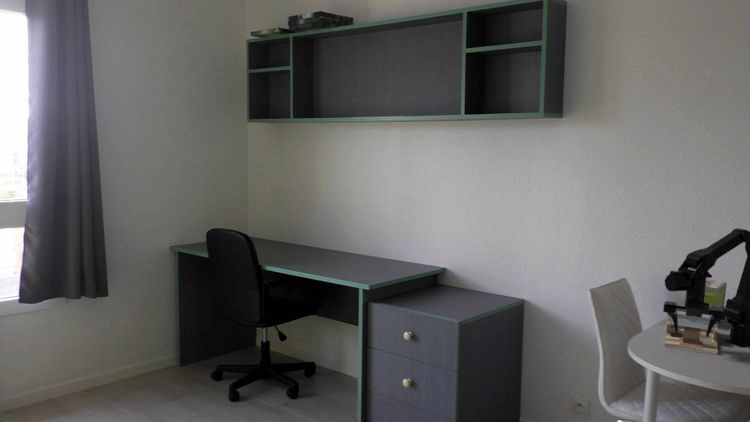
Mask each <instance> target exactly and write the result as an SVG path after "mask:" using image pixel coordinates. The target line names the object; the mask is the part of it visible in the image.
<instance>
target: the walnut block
mask: <svg viewBox="0 0 750 422" xmlns="http://www.w3.org/2000/svg"><path fill="white" fill-rule="evenodd" d="M683 326H684V325H683ZM701 329H702V328H699V327H695V326H693V327H692V326H687V325H685V326H684V334H682V335H683V337H682V338H683V343H688V344H694V345H699V342H700V341H701V340H700V338H701V337H700V330H701Z"/></svg>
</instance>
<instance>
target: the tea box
mask: <svg viewBox="0 0 750 422" xmlns="http://www.w3.org/2000/svg"><path fill="white" fill-rule="evenodd" d="M726 293H727V282H726V281H719V280H714V279H709V278H706V288H705V299H704V303H710V304H712V305H714V306H715V307H717V308H725V304H726V302H725V301H726V295H727V294H726ZM690 321H692V322H695V323H702V324H707V325H708V324H709V322H702V321H694V320H690ZM718 323H719V322H717V324H718Z"/></svg>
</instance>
